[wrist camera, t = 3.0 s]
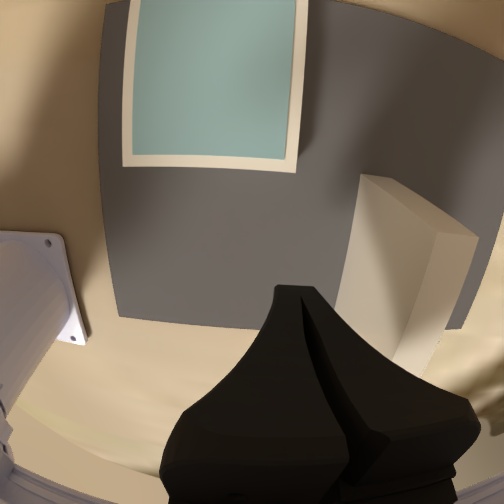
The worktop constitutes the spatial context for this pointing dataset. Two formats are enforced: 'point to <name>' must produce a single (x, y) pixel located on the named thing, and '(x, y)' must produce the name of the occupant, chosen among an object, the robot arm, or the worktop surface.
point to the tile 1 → (214, 83)
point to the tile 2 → (402, 271)
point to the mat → (306, 172)
